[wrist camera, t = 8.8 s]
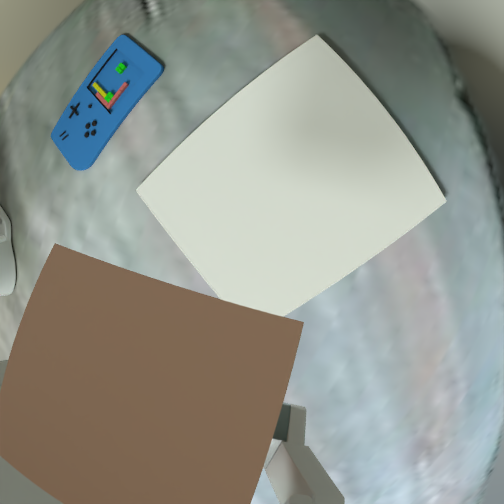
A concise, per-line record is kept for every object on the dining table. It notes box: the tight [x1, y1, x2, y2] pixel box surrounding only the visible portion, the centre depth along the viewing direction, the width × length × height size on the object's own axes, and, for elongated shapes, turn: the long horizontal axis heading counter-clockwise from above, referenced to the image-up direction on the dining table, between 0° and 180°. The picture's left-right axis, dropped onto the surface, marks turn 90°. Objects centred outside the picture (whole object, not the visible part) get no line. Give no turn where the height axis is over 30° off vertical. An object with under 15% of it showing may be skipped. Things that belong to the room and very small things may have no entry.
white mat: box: [136, 35, 446, 317], centre depth 25 cm, size 18×22×1 cm
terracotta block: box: [0, 244, 304, 504], centre depth 9 cm, size 5×5×12 cm
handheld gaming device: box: [51, 35, 164, 170], centre depth 26 cm, size 8×1×15 cm
